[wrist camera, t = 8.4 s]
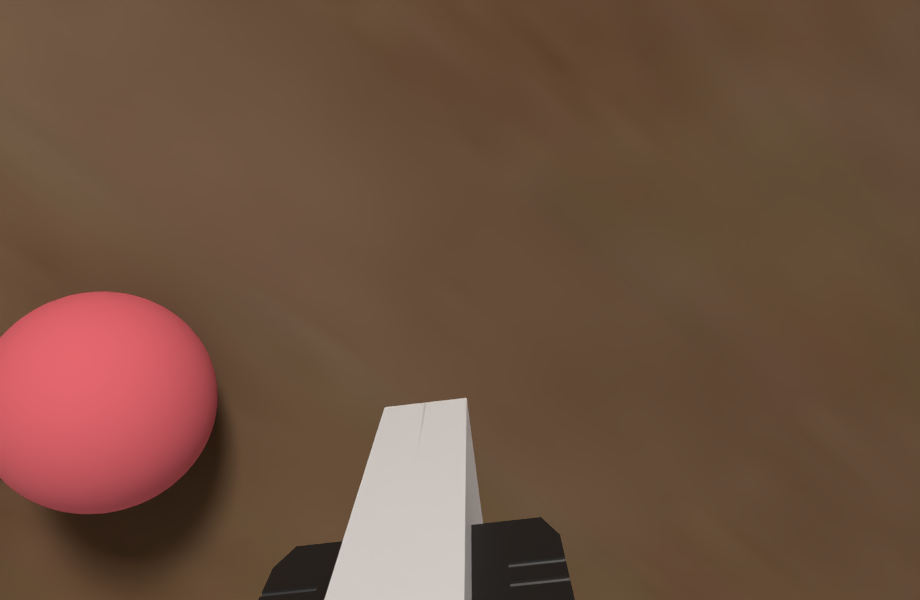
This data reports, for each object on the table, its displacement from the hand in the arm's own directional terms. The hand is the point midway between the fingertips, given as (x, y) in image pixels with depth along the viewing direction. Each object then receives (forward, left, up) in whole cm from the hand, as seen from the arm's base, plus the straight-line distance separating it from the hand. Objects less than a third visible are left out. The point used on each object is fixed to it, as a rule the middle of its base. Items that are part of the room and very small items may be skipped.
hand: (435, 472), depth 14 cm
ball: (+9, 0, -7) cm, 12 cm away
